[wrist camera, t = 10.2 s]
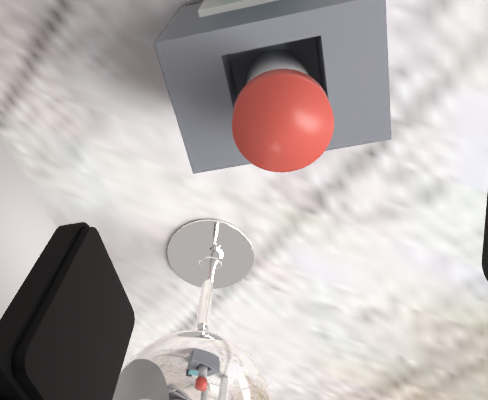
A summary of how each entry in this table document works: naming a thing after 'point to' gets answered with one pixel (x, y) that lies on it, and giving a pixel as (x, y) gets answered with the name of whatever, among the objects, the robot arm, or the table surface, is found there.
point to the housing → (265, 40)
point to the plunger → (281, 114)
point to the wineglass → (199, 327)
